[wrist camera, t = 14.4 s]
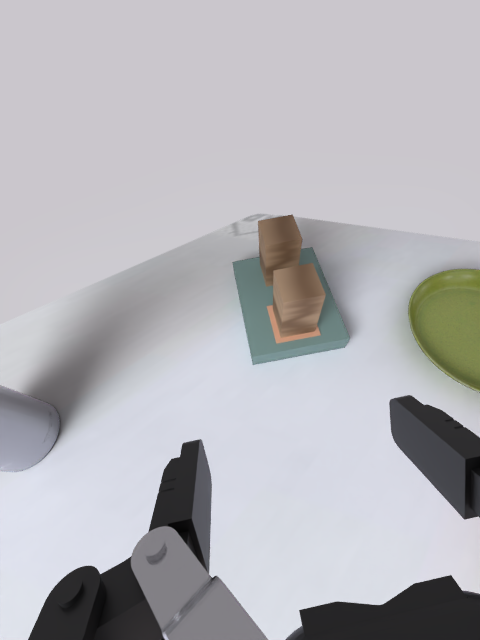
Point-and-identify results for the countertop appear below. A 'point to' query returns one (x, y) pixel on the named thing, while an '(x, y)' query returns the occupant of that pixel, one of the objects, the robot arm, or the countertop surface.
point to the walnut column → (278, 245)
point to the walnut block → (297, 299)
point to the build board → (263, 322)
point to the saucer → (449, 323)
